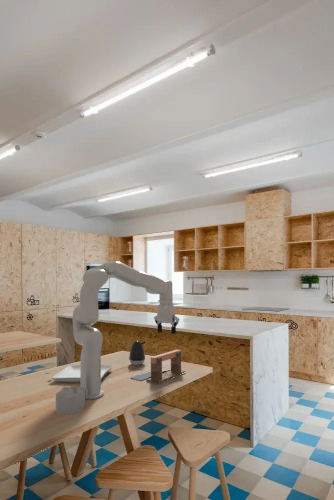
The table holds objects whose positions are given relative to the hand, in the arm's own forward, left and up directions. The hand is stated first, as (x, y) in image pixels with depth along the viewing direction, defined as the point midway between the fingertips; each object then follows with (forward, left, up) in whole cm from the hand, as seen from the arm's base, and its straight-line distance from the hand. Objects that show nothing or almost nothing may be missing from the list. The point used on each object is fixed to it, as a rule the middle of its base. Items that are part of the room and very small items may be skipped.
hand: (166, 332), depth 191 cm
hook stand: (0, 0, -24) cm, 24 cm away
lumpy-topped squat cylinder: (-59, +6, -25) cm, 65 cm away
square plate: (-26, +39, -25) cm, 53 cm away
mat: (0, +11, -24) cm, 27 cm away
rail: (0, 0, -14) cm, 14 cm away
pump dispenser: (+11, +32, -25) cm, 42 cm away
